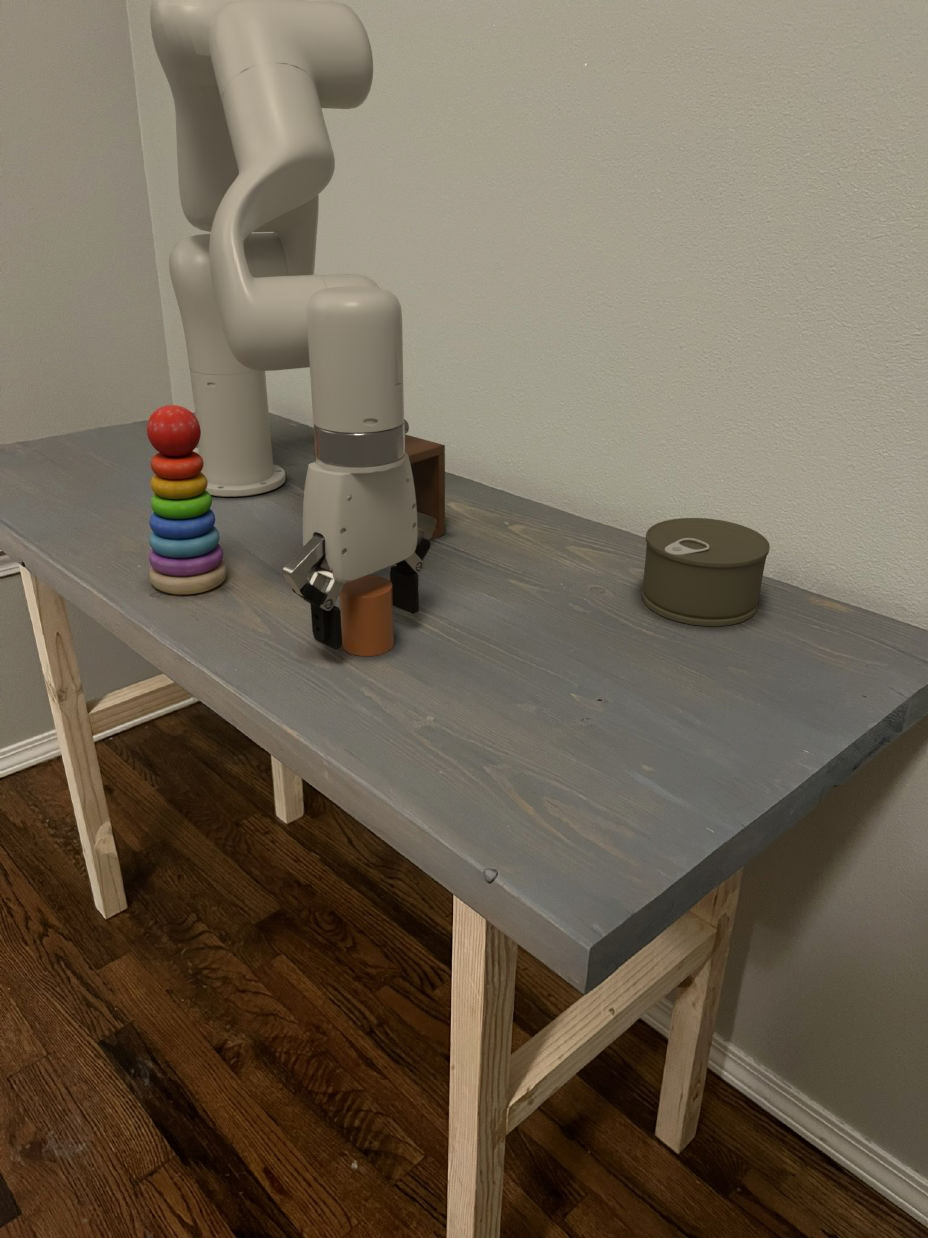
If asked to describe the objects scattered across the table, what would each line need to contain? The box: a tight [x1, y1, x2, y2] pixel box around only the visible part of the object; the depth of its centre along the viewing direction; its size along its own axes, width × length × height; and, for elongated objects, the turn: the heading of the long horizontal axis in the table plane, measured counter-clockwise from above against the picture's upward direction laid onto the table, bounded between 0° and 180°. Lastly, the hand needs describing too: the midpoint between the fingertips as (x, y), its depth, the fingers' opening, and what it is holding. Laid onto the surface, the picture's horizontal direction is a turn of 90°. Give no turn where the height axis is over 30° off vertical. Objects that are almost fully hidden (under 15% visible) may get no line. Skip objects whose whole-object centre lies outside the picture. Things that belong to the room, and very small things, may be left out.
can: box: [641, 517, 770, 627], centre depth 94 cm, size 12×12×7 cm
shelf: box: [314, 433, 446, 541], centre depth 108 cm, size 10×11×11 cm
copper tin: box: [339, 574, 395, 657], centre depth 85 cm, size 5×5×6 cm
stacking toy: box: [146, 404, 228, 595], centre depth 94 cm, size 8×8×19 cm
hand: (367, 625), depth 85 cm, fingers open, 9 cm apart
